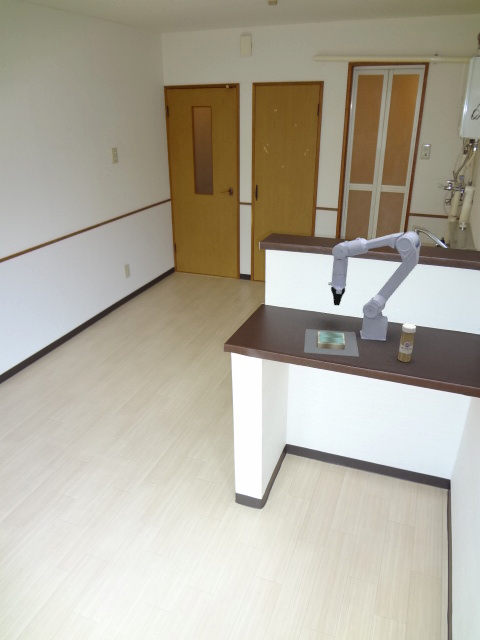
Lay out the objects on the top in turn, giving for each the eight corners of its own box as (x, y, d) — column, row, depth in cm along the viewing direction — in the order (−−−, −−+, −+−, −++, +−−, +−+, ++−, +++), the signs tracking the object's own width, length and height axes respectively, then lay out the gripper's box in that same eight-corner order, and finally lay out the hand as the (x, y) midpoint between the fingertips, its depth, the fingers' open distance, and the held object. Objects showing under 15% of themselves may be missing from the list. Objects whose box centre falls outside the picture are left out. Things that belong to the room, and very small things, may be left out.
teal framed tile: (343, 332, 181) (345, 344, 171) (343, 337, 182) (344, 349, 172) (318, 331, 182) (318, 342, 172) (317, 335, 183) (317, 347, 173)
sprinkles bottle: (399, 362, 163) (405, 328, 158) (395, 356, 167) (400, 323, 162) (412, 362, 163) (418, 328, 158) (408, 356, 167) (413, 323, 162)
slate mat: (354, 333, 187) (355, 332, 187) (359, 357, 167) (359, 356, 167) (305, 329, 190) (305, 329, 190) (303, 353, 170) (303, 352, 170)
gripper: (329, 267, 190) (326, 298, 195) (329, 277, 176) (326, 310, 182) (346, 268, 189) (343, 299, 194) (348, 278, 175) (344, 311, 181)
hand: (336, 304), depth 188 cm, fingers closed
